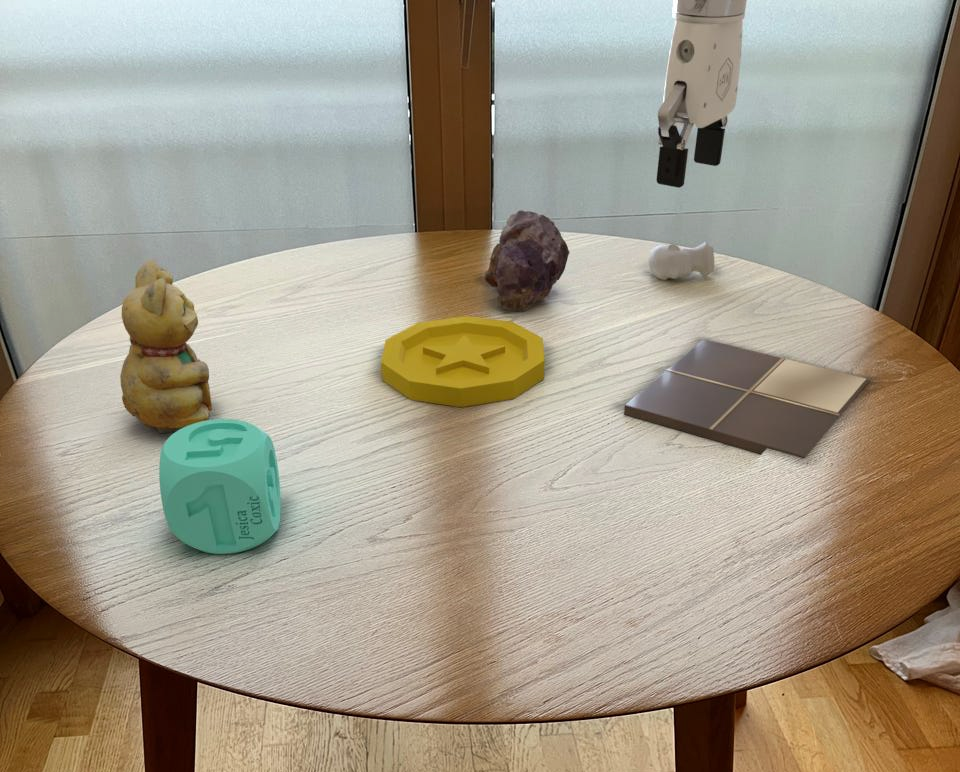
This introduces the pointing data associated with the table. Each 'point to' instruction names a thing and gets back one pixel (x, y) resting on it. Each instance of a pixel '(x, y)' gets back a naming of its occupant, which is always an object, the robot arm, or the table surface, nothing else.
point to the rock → (526, 260)
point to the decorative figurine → (162, 355)
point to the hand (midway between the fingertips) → (688, 174)
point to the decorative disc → (463, 361)
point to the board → (747, 399)
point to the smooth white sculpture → (681, 261)
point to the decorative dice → (220, 486)
